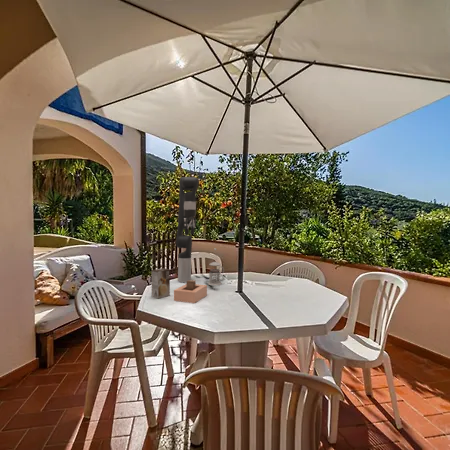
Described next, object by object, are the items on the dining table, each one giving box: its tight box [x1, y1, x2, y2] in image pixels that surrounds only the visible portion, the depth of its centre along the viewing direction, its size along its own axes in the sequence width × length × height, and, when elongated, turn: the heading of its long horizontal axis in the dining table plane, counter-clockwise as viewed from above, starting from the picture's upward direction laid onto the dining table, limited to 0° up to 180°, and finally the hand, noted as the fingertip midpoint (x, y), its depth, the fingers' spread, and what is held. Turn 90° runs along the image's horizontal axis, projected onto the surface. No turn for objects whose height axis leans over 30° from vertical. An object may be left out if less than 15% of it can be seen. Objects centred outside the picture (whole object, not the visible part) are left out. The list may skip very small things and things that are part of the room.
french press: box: [207, 247, 225, 286], centre depth 223 cm, size 10×12×25 cm
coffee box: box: [150, 267, 171, 299], centre depth 189 cm, size 9×6×16 cm
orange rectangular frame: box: [173, 283, 208, 304], centre depth 187 cm, size 18×13×6 cm
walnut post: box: [185, 279, 197, 291], centre depth 187 cm, size 4×4×10 cm
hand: (189, 234), depth 201 cm, fingers open, 8 cm apart
